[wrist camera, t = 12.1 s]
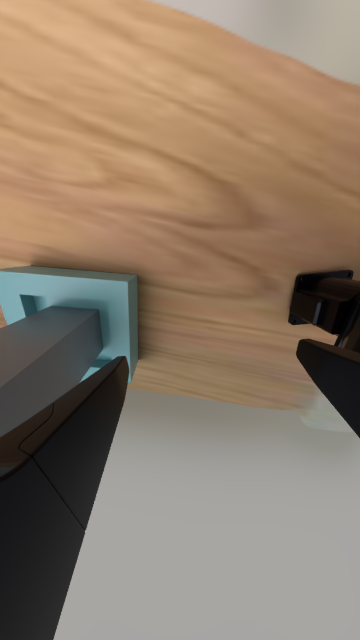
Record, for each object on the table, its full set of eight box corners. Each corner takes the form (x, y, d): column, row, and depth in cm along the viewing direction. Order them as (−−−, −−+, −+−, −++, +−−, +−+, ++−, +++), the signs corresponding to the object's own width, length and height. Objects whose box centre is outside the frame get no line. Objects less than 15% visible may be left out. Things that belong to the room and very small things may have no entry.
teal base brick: (137, 275, 20) (127, 281, 16) (138, 360, 24) (130, 382, 20) (29, 265, 19) (-12, 270, 15) (51, 355, 23) (25, 377, 19)
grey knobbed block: (99, 309, 18) (-51, 428, 6) (103, 349, 20) (-5, 499, 8) (50, 305, 18) (-210, 424, 6) (59, 346, 20) (-122, 499, 8)
